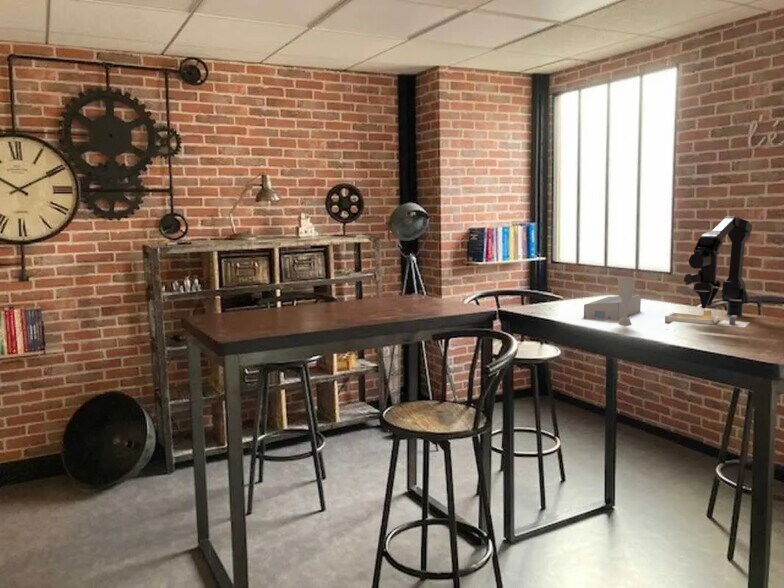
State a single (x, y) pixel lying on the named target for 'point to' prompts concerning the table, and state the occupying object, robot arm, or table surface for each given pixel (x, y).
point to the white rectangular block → (733, 322)
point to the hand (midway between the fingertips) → (706, 306)
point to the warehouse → (612, 308)
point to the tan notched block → (705, 315)
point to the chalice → (625, 296)
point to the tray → (673, 317)
